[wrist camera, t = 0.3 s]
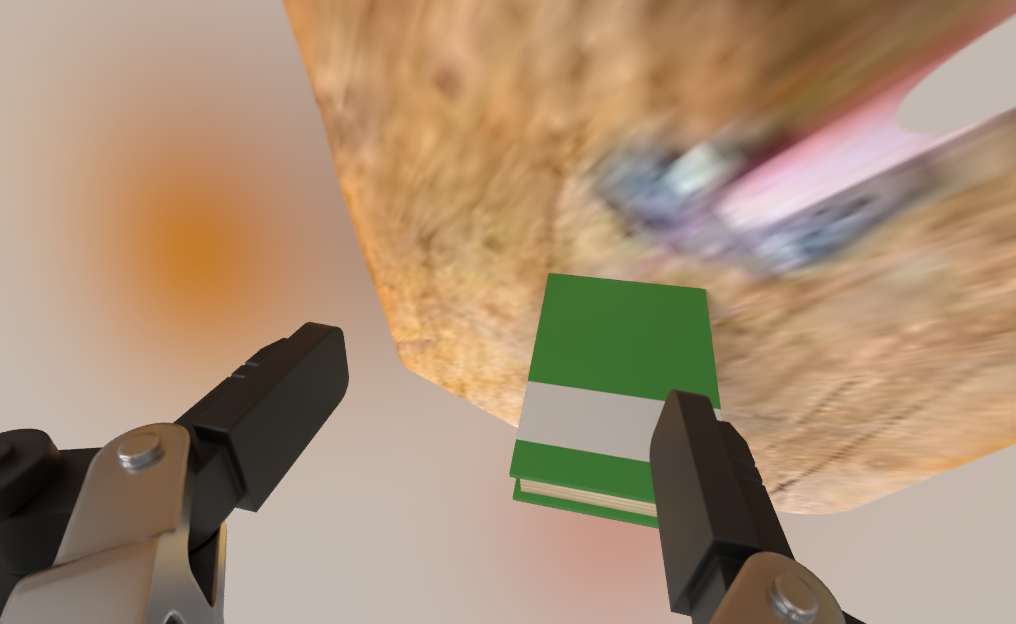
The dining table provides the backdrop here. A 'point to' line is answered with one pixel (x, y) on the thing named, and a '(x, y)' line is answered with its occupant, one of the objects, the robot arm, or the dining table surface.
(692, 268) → the dining table surface
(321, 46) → the dining table surface
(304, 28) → the dining table surface
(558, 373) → the hardback book
